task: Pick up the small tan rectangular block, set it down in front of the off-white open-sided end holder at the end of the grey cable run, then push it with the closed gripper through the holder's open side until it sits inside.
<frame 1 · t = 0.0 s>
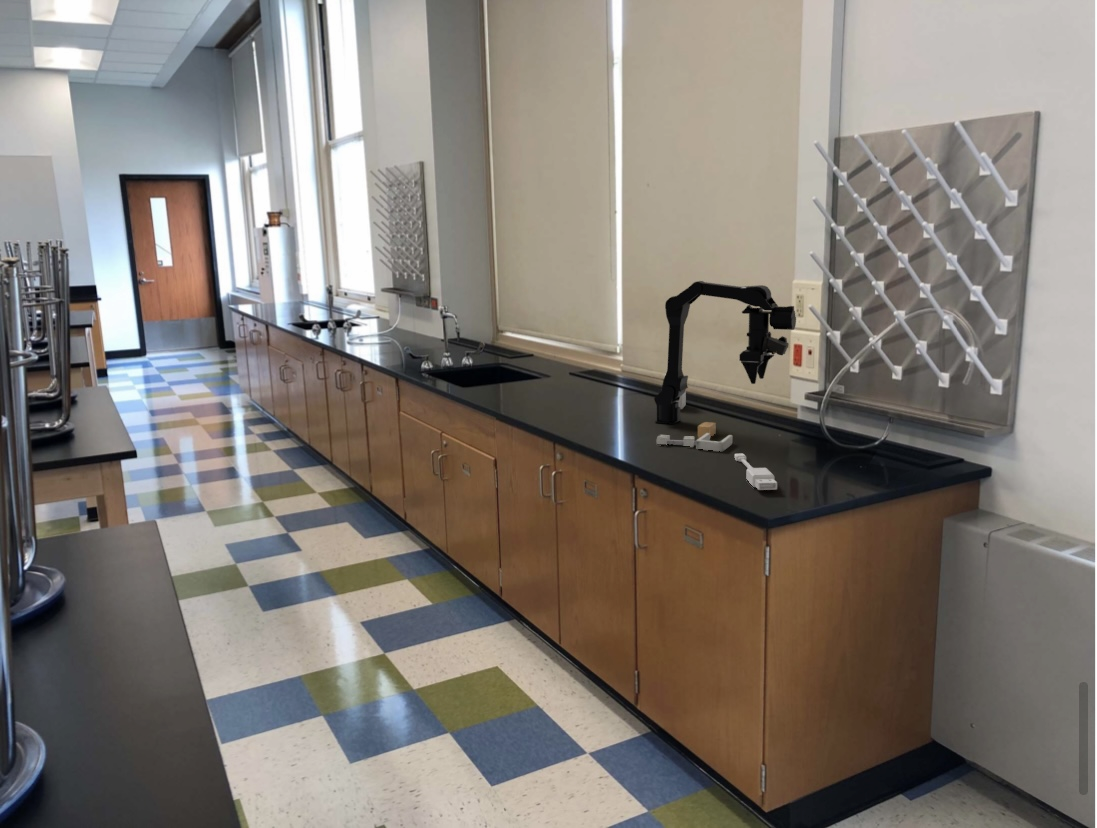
hand: (757, 381, 255), 15 cm above the countertop, tool pointing down, fingers open, 9 cm apart
tan rectangular block: (706, 436, 253), on the countertop
charging cable: (752, 476, 212), on the countertop
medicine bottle: (673, 407, 293), on the countertop
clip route: (677, 445, 242), on the countertop
end holder: (714, 446, 240), on the countertop
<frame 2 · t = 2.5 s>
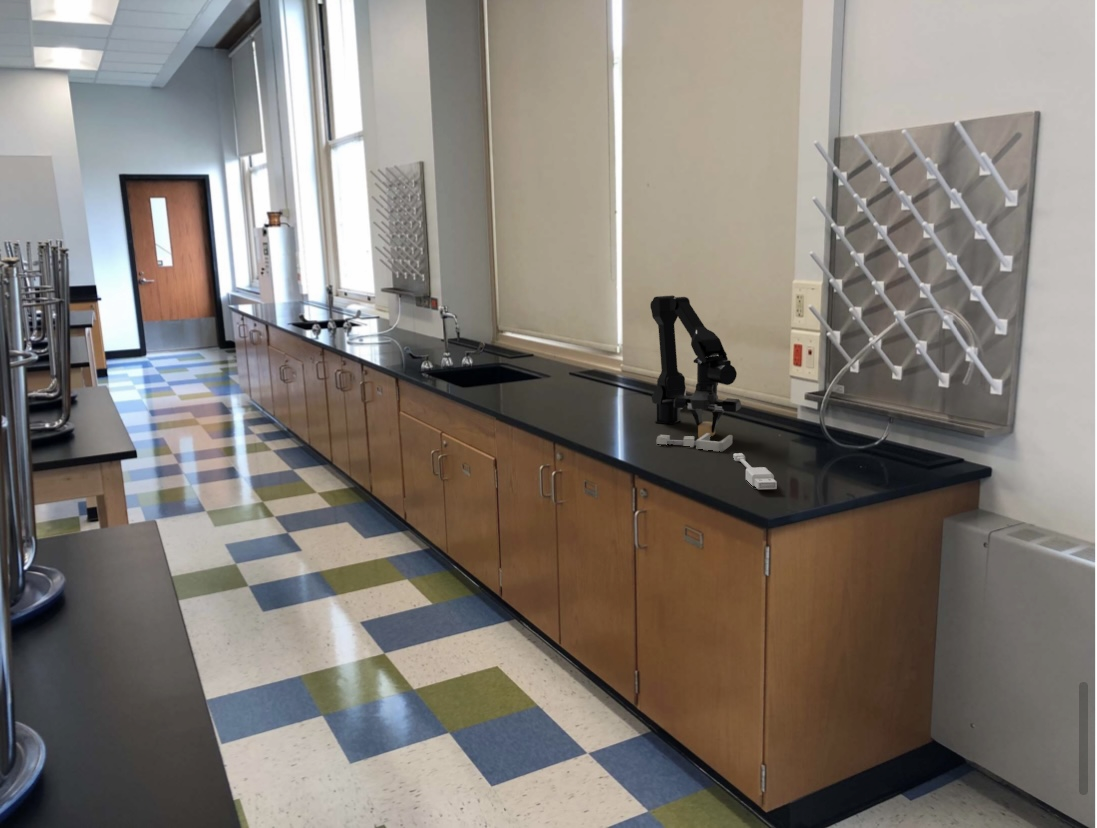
hand: (706, 432, 252), 1 cm above the countertop, tool pointing down, fingers closed on tan rectangular block, 4 cm apart
tan rectangular block: (706, 435, 253), on the countertop, touching gripper
everything else where it was.
when the fingers open (2 cm above the countertop, at t = 5.7 s): tan rectangular block moves 1 cm, on the countertop.
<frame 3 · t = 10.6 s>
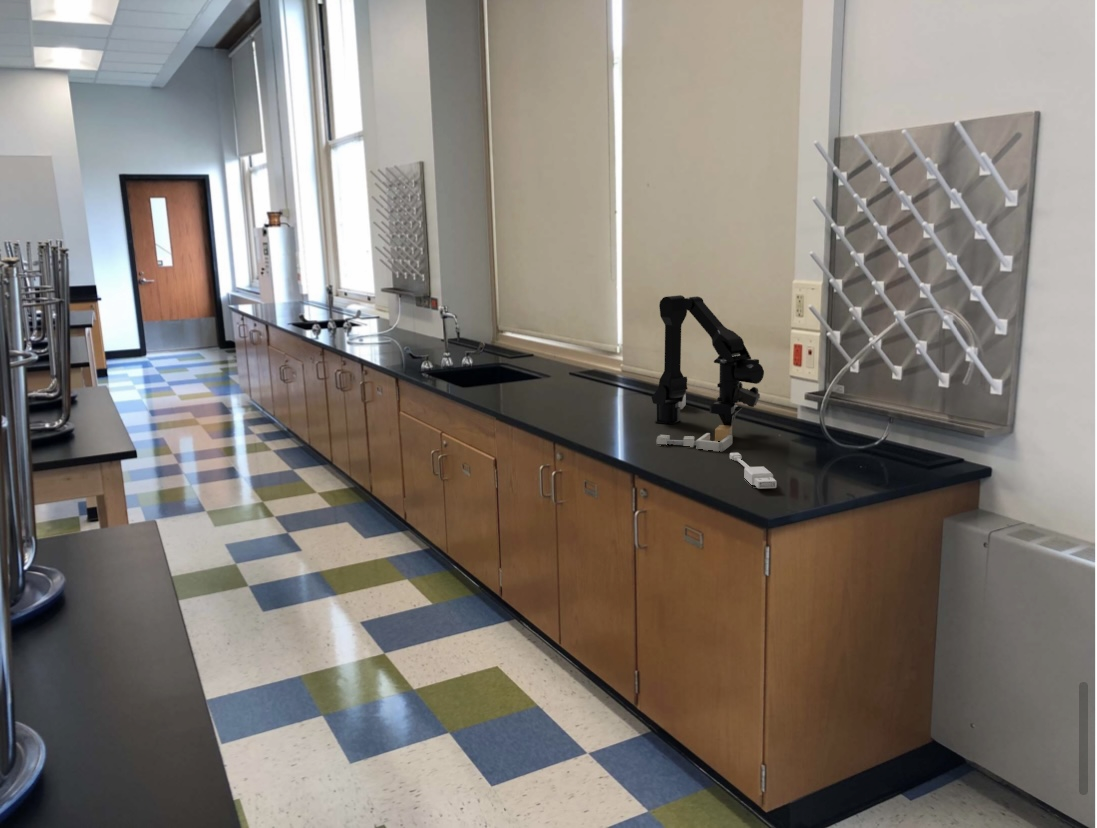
hand: (728, 432, 251), 1 cm above the countertop, tool pointing down, fingers closed
tan rectangular block: (723, 439, 248), on the countertop, touching gripper
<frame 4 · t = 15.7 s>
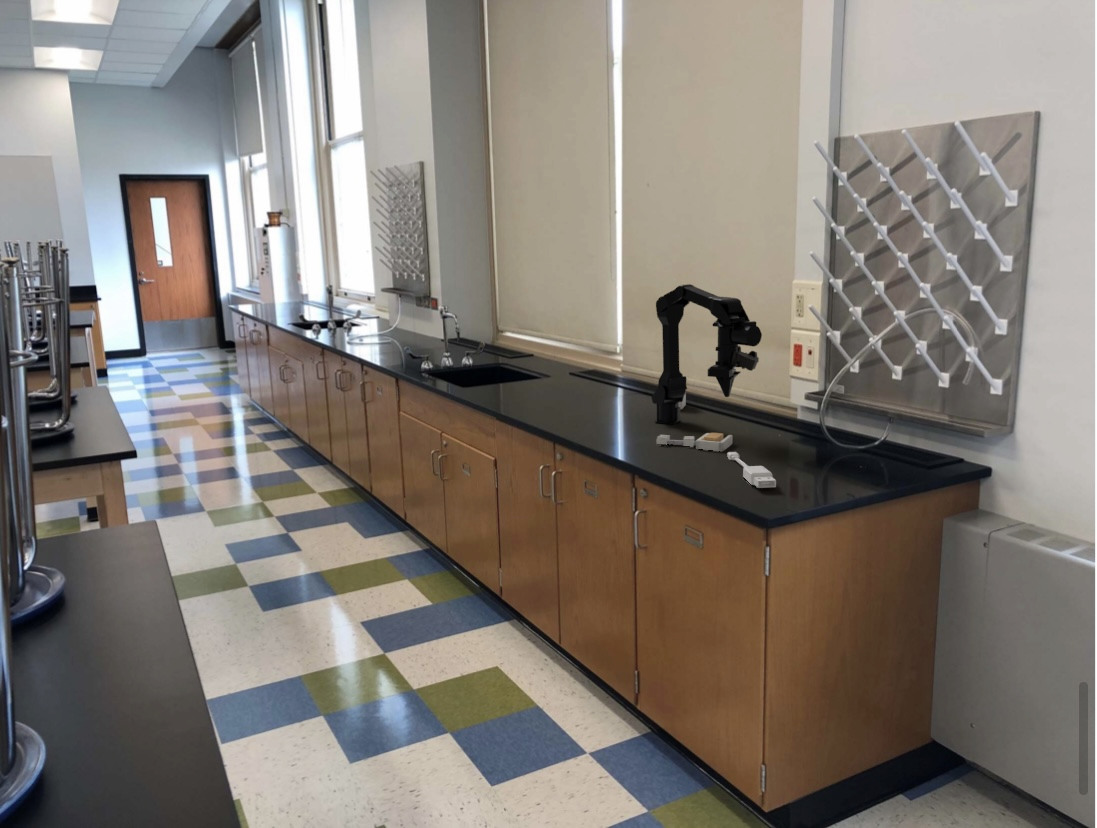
hand: (727, 396, 247), 12 cm above the countertop, tool pointing down, fingers closed
tan rectangular block: (713, 447, 239), resting in end holder
at the end: tan rectangular block 0.1 cm from the target spot, resting in end holder; tan rectangular block tilted 0°; the gripper is holding nothing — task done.
